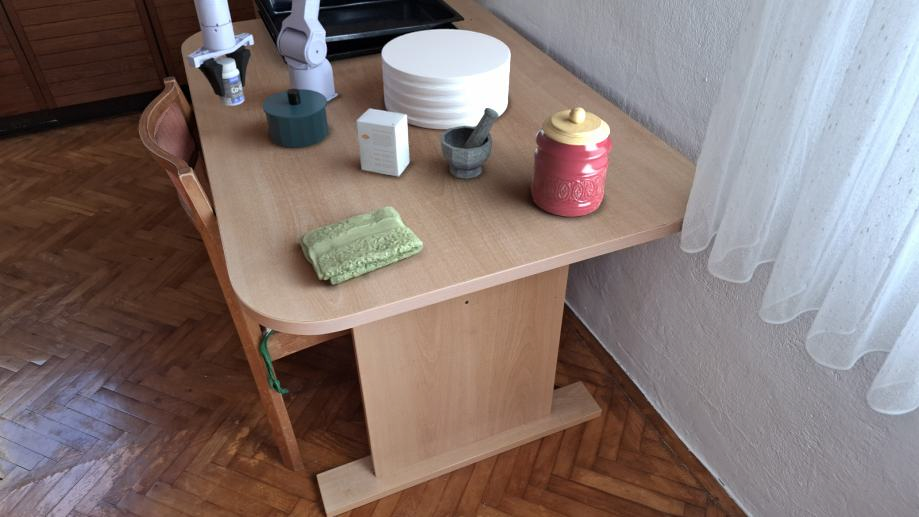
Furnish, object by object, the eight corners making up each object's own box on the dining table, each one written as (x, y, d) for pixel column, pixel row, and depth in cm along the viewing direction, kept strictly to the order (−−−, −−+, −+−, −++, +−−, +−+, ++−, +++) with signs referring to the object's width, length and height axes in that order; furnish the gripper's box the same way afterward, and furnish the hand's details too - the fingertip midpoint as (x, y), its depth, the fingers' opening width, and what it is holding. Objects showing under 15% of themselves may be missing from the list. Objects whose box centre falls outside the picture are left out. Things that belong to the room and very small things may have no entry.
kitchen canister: (584, 227, 112) (599, 134, 101) (517, 204, 117) (524, 113, 106) (613, 192, 120) (629, 103, 109) (549, 172, 126) (559, 85, 115)
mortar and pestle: (450, 187, 121) (450, 128, 114) (433, 163, 128) (432, 106, 120) (505, 175, 125) (509, 117, 117) (485, 152, 131) (488, 96, 124)
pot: (284, 118, 142) (279, 90, 138) (336, 124, 140) (333, 95, 136) (260, 144, 133) (255, 114, 129) (315, 150, 131) (311, 121, 127)
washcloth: (294, 244, 107) (292, 228, 105) (393, 215, 114) (392, 199, 112) (322, 291, 98) (320, 275, 96) (427, 256, 105) (427, 240, 103)
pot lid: (279, 91, 139) (276, 75, 137) (336, 97, 137) (334, 81, 135) (252, 118, 129) (248, 101, 127) (313, 125, 127) (311, 108, 125)
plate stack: (482, 70, 164) (484, 23, 156) (526, 119, 143) (530, 68, 136) (372, 83, 156) (369, 36, 149) (402, 137, 136) (399, 85, 129)
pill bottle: (238, 107, 130) (229, 67, 125) (216, 105, 131) (206, 64, 126) (249, 97, 134) (240, 57, 129) (227, 95, 135) (218, 55, 129)
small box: (410, 163, 128) (408, 113, 121) (398, 177, 124) (396, 127, 117) (372, 156, 130) (368, 107, 123) (360, 170, 125) (355, 119, 119)
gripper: (230, 7, 129) (243, 73, 137) (169, 28, 119) (187, 98, 128) (255, 13, 126) (268, 81, 134) (195, 36, 116) (212, 107, 125)
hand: (230, 90), depth 131 cm, fingers closed on pill bottle, 5 cm apart
